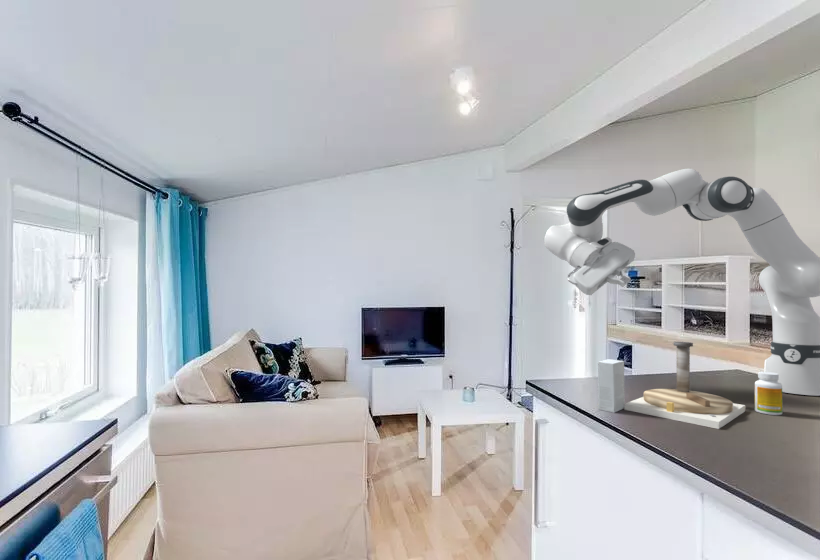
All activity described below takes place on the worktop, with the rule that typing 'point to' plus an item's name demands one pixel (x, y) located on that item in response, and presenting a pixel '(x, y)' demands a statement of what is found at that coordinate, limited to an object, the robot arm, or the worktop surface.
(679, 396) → the dial
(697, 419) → the dial stand
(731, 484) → the worktop surface
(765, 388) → the supplement bottle
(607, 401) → the skincare box
